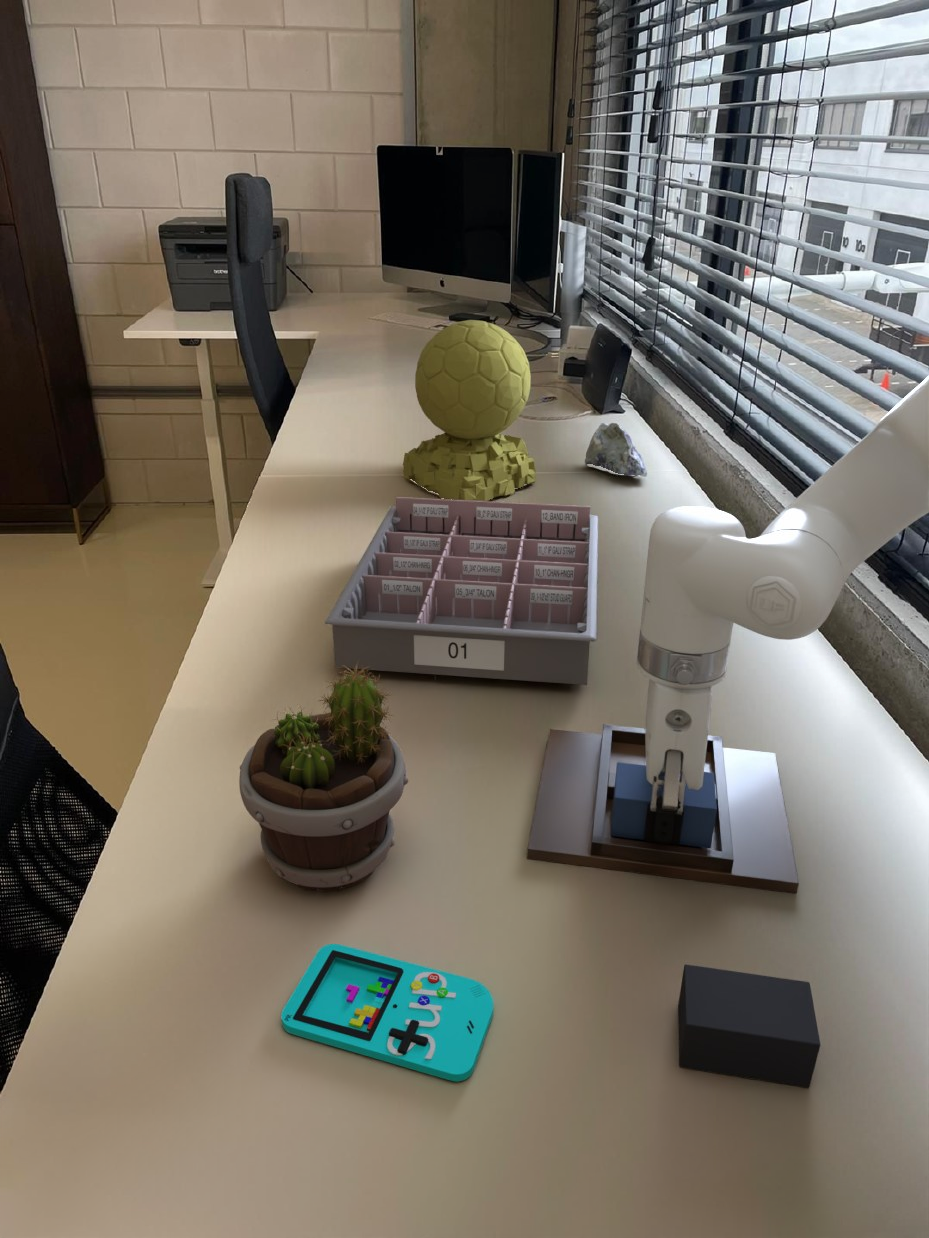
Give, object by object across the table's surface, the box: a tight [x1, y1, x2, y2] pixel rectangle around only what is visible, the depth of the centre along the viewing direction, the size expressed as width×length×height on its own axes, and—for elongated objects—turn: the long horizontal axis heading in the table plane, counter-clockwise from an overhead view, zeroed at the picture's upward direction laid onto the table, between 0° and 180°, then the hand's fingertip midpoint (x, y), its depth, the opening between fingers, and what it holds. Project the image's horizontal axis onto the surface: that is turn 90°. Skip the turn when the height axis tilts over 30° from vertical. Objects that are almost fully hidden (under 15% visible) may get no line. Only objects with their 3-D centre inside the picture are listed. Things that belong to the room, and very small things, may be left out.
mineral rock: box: [584, 422, 648, 478], centre depth 183 cm, size 13×11×10 cm
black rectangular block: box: [677, 963, 821, 1089], centre depth 68 cm, size 9×6×4 cm, turn 79°
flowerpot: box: [238, 659, 409, 892], centre depth 83 cm, size 14×15×20 cm
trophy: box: [402, 319, 537, 501], centre depth 174 cm, size 22×22×30 cm
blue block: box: [611, 762, 717, 848], centre depth 88 cm, size 9×6×4 cm, turn 79°
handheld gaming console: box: [281, 943, 494, 1082], centre depth 72 cm, size 8×1×15 cm
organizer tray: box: [324, 496, 599, 686], centre depth 129 cm, size 32×40×10 cm
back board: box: [526, 723, 800, 894], centre depth 93 cm, size 24×20×3 cm
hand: (661, 819), depth 89 cm, fingers closed on blue block, 5 cm apart
